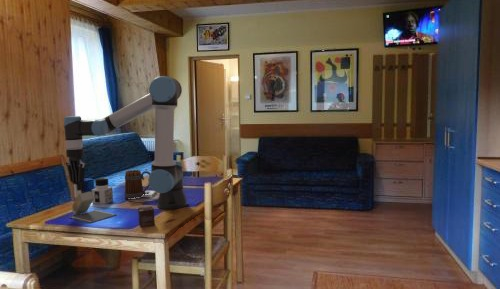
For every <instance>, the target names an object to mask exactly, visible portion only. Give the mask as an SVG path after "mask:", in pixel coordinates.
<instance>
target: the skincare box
mask: <svg viewBox="0 0 500 289" xmlns="http://www.w3.org/2000/svg"><path fill="white" fill-rule="evenodd" d="M93 200H94V197H93V195H92V190H91V191H86V192H81V193H80V194H78V196H77V198H76V197H75V200H74V202H73V203H72V206H71V211H72V213H73V216H75V215H79V214H83V213H86V212H88V210H89V208H90V207H91V205H92V204H93Z"/></svg>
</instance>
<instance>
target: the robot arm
mask: <svg viewBox="0 0 500 289" xmlns="http://www.w3.org/2000/svg"><path fill="white" fill-rule="evenodd" d="M182 88H183V87H182V85H181V83H180V81H178V80H177V79H176V78H173V77H169V76H167V75H161V76H160V75H159V76H157V77H155V78H154V79H153V80H152V81H151V82H150V83H149V87H148V92H149V93H148V94H146V95H144V96H142V97H140V98H139V99H136V100H135V101H132V102H131V103H129V104H127V105H126V106H124V107H122V108H119V109H118V110H116V111H115V112H112V113H111V114H109V115H106V116H105V117H104V118H103V117H102V118H98V119H82V117H81V115H73V116H72V115H69V116H65V117H64V119H63V127H64V129H63V130H64V139H65V140H64V141H65V148H66V149H65V155H66V156H65V157H66V158H68V161H67V162H65V164H66V167H67V171H68V176H69V181H70V183H72V184H73V191H74V198H75V199H76V198H77V196H78V194H80V193H82V184H83V183H84V182H85V172H86V171H85V170H86V166H87V163H85V162H83V159H82V158H83V156H84V148H83V147H84V145H83V144H84V142H83V137H93V136H94V137H95V136H96V137H101V136H106V135H107V134H110V133H113V132H114V131H115V130H117V129H118V128H120V127H122V126H124V125H126V124H127V123H129V122H130V123H131V121H134V120H135V119H137V118H139V117H141V116H143V115H145V114H146V113H148V112H150V111H153V110H154V120H155V122H154V160H153V161H152V162H151V166H150V167H151V168H150V169H151V170H150V173H151V174H150V176H149V175H148V181H147V182H148V184H149V187H150V188H151V190H152V191H154V192H156V193H158V195H159V196H158V200H157V202H156V204H157V206H156V207H157V208H159V209H161V210H162V209H163V210H174V209H176V210H177V209H182V208H183V207H187V206H188V199H187V197H186V195H185V194H186V193H185V191H184V175H183V173H184V171H183V168H184V167H183V163H182V161H179V160H176V161H175V160H174V142H175V141H174V139H175V138H174V130H175V128H174V127H175V125H174V124H175V109H176V108H178V99H179V98H180V97H181V95H182V91H183V89H182Z"/></svg>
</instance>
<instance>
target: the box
mask: <svg viewBox="0 0 500 289" xmlns="http://www.w3.org/2000/svg"><path fill="white" fill-rule="evenodd" d="M137 214H138V224H139V227H140V228H146V227H153V226H155V225H156V224H155V223H156V222H155V220H156V219H155V209H154V207H153V206H151V205H150V206H149V205H148V206H142V207H141V206H140V207H138V208H137Z"/></svg>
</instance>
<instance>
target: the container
mask: <svg viewBox="0 0 500 289" xmlns="http://www.w3.org/2000/svg"><path fill="white" fill-rule="evenodd" d="M94 184H95V188H93V189H91V193H92V195H93V197H94V200H93V201H92V204H98V205H99V204H101V205H103V204H104V205H106V204H108V203H112V201H114V194H113V193H114V192H113V186H109V178H107V177H100V178H99V177H98V178H96V179H95V180H94Z"/></svg>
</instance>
